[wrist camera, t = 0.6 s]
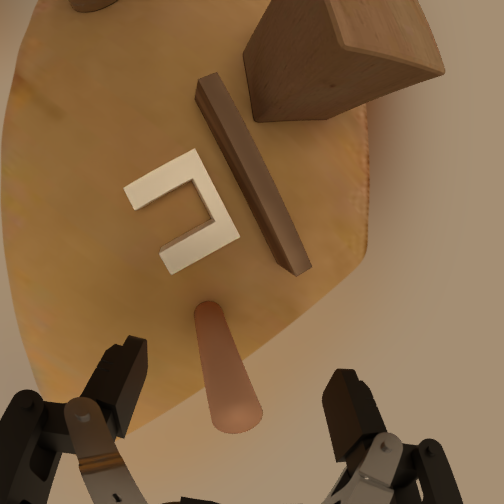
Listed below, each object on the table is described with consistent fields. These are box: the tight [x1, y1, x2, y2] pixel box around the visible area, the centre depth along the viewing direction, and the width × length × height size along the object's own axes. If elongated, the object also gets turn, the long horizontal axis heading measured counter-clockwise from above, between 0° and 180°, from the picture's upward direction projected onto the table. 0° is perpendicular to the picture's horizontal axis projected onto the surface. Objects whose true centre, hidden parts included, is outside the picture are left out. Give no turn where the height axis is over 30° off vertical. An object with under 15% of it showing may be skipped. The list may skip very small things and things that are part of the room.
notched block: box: [123, 149, 240, 275], centre depth 29 cm, size 8×10×4 cm
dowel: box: [194, 301, 263, 434], centre depth 25 cm, size 4×4×18 cm
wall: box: [195, 72, 312, 277], centre depth 29 cm, size 2×22×6 cm, turn 27°
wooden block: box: [243, 0, 445, 122], centre depth 21 cm, size 10×10×20 cm
